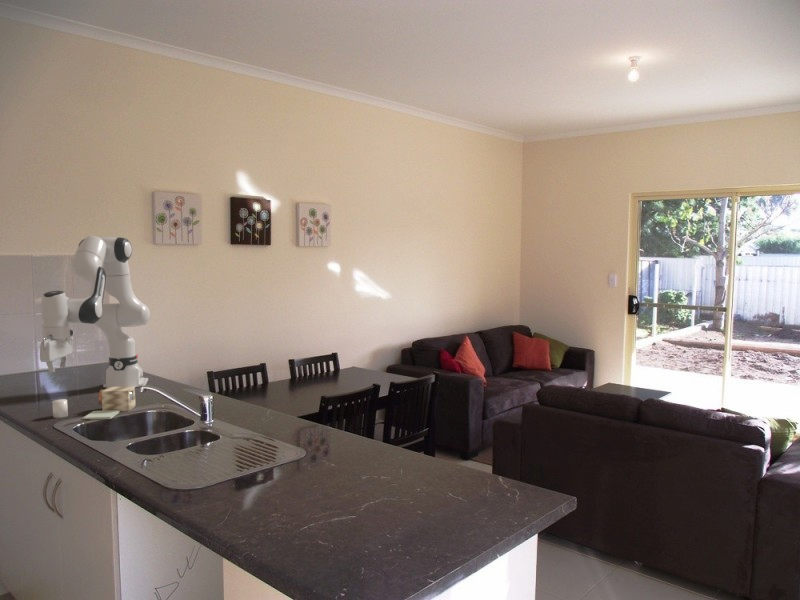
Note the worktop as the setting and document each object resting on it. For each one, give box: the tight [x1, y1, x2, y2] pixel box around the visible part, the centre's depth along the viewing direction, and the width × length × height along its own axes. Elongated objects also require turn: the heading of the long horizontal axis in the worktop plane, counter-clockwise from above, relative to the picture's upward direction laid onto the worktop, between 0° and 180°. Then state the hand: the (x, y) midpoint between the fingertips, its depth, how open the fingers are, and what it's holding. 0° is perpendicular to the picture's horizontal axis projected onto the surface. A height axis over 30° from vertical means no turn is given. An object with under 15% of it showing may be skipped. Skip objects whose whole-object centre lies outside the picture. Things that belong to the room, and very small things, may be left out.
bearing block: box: [101, 386, 136, 412], centre depth 249 cm, size 10×8×8 cm
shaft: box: [97, 389, 133, 406], centre depth 248 cm, size 12×6×6 cm, turn 95°
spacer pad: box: [82, 410, 121, 421], centre depth 239 cm, size 10×10×1 cm
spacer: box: [51, 398, 69, 419], centre depth 239 cm, size 5×5×6 cm
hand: (57, 369), depth 238 cm, fingers open, 8 cm apart
